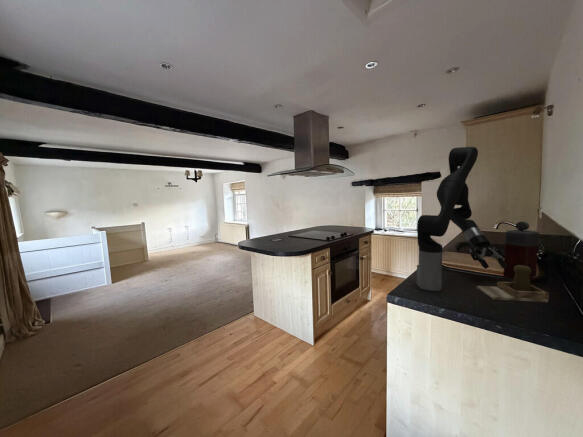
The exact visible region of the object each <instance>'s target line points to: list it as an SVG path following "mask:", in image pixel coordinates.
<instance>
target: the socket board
mask: <svg viewBox="0 0 583 437" xmlns="http://www.w3.org/2000/svg"><path fill="white" fill-rule="evenodd" d="M512 284H513V281H511V282H510V281H497V283H496V286H490V285H489V286H487V285H476V289H477V290H479V291H480V292H482V293H483V294H485V295H487V297H490V298H491V299H492V300H494V301H495V300H498V301H499V300H500V301H515V302H516V301H518V302H535V303H549V298H550V293H549V292H548V291H545V290H544V289H542V288H539V287H537V286H535V285H532V284H531V283H530V286H531V291H516V290H514V289H512Z"/></svg>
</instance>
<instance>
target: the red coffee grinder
mask: <svg viewBox="0 0 583 437" xmlns="http://www.w3.org/2000/svg"><path fill="white" fill-rule="evenodd" d="M515 227H516V229H511V230H507V231H505V237H504V254H505V256H506V257H505V258H503V260H504V261H505V263H506V264H507V266H506V267H505V268H503V277H504V278H508V279H512V280H514V276H515V272H514V267H515V266H516V265H524V266H528V267H530V269H531V274H529V278H530V282H531V281H534V280H535V279H534V278H533V277H534V276H536V277H537V268H538V252H539V250H538V249H539V238H540V237H539V236H540V235H539V231H537V230H528V229H529V228H530V224H529V223H528V222H527V221H524V220H523V221H518V222H517V223H515Z"/></svg>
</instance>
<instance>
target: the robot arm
mask: <svg viewBox="0 0 583 437" xmlns="http://www.w3.org/2000/svg"><path fill="white" fill-rule="evenodd" d="M478 155H479V150H478V148H477V147H475V146H463V147H453V148H452V149H450V151H449V154H448V169H449V174H448V175H447V176H446V177H444V178H443V179H442V180H441V181H440V184H439V185H438V188H437V190H436V199H437V200H438V203H439V205H440V211H439V213H438V214H437V215H434V214H433V215H430V214H423V215H420V216H419V218H418V219H417V223H416V232H417V233H416V234H417V246H418V264H417V265H416V285H417V287H418V288H419V290H424V291H431V292H439V291H442V284H443V283H442V281H443V278H442V276H443V245H442V244H441V243H439V242H436V241H435V240H434V239H433V238H432V237H438V238H439V237H443V236H445V235H446V232H447V231H448V228H449V225H450V222H452V223H453V224H454V225H456V227H458V228H459V229H460V230H461V232H462V234H463V235H464V237H465V239H466V241H467V242H468V244H469V245H470V248H469V249H468V252H469V255H470V257H471V258H472V260H473V261H474V262H475V261H477V262H479V264H480V265H481V266H482V268H483V269H488V268H489V267H490V265H489V264H488V263H487V261H486V259H485V258H486V257H487V258H488V257H489V258H491V259H494V260H496V261H497V262H498V264H499V265H500V267H501V268H502V269H504V268H505V267H506V266H507V264H506V263H505V261H504V258H505V257H506V256H505V252H503V251H502V250H501V248H500V246H495V247H493V246H492V245H491V242H490V241H489V238H488V237H487V236H486V235H485V234H484V232H483V231H482V229H480V228H479V226H478V225H477V223H476V221H474V220H473V219H470V218H471V217H472V209H471V206H470V202H469V194H470V192H469V186H468V184H467V183H466V181H467V179H468V176H469V174H470V173H471V171H472V169H473V167H474V165H475V163H476V161H477V159H478ZM456 206H460V207H456Z"/></svg>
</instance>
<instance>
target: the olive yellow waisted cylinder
mask: <svg viewBox="0 0 583 437" xmlns="http://www.w3.org/2000/svg"><path fill="white" fill-rule="evenodd" d="M514 272H515V276H514V279H512V280H513V281H512V282H513V284H512V289H514V290H516V291H531V286H530V284H531V281H530V278H529V274H531V269H530V267H528V266H524V265H516V266H515V267H514Z"/></svg>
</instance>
